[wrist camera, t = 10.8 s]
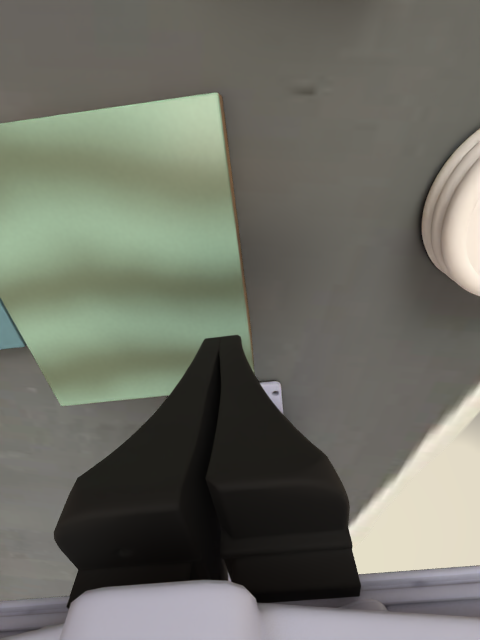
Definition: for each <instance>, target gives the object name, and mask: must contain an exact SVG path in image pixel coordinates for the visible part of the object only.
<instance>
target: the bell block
mask: <svg viewBox="0 0 480 640" xmlns="http://www.w3.org/2000/svg"><path fill="white" fill-rule="evenodd" d="M26 345H27V344H26V343H25V341H24V339H23V337H22V335H21V334H20V332H19V330H18V328H17V326H16V325H15V323H14V321H13V319H12V318H11V316H10V314H9V312H8V310H7V309H6V307H5V305H4V303H3V301H2V300H1V298H0V349H9V348H18V347H25V346H26Z"/></svg>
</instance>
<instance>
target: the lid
mask: <svg viewBox="0 0 480 640" xmlns="http://www.w3.org/2000/svg"><path fill="white" fill-rule="evenodd" d="M0 298H1V300H2V301H3V303H4V305H5V307H6V309H7V310H8V312H9V314H10V316H11V318H12V319H13V321H14V323H15V325H16V326H17V328H18V330H19V332H20V334H21V335H22V337H23V339H24V341H25V343H26V344H27V346H28V348H29V350H30V351H31V353H32V355H33V357H34V359H35V360H36V362H37V364H38V366H39V368H40V369H41V371H42V373H43V375H44V376H45V378H46V380H47V382H48V384H49V385H50V387H51V389H52V391H53V393H54V394H55V396H56V398H57V400H58V401H59V403H60V405H61V406H68V405H78V404H88V403H98V402H108V401H118V400H128V399H138V398H148V397H157V396H167V395H170V394H171V392H172V391H173V390H174V388H175V387H176V385H177V384H178V383H179V381H180V380H181V378H182V377H183V375H184V374H185V372H186V370H187V369H188V367H189V366H190V364H191V362H192V361H193V359H194V357H195V355H196V354H197V352H198V350H199V348H200V346H201V344H202V342H203V341H204V339H205V338H214V337H222V336H231V335H239V336H240V337H241V340H242V347H243V350H244V353H245V356H246V358H247V360H248V363H249V365H250V367H251V369H252V371H253V372H254V364H253V356H252V348H251V341H250V333H249V325H248V317H247V309H246V301H245V294H244V286H243V278H242V270H241V262H240V255H239V247H238V239H237V231H236V223H235V216H234V208H233V200H232V192H231V184H230V176H229V169H228V161H227V153H226V145H225V137H224V130H223V122H222V114H221V106H220V98H219V94H218V93H217V92H214V93H208V94H201V95H194V96H187V97H180V98H173V99H166V100H159V101H152V102H145V103H138V104H131V105H125V106H118V107H111V108H104V109H97V110H90V111H83V112H76V113H69V114H62V115H55V116H48V117H41V118H35V119H28V120H21V121H14V122H7V123H0ZM254 374H255V372H254Z"/></svg>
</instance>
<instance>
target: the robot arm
mask: <svg viewBox="0 0 480 640" xmlns="http://www.w3.org/2000/svg"><path fill="white" fill-rule="evenodd" d="M274 391H277V392H274ZM349 508H350V506H349V500H348V496H347V494H346V491H345V489H344V486H343V484H342V482H341V480H340V478H339V476H338V474H337V473H336V471H335V469H334V467H333V466H332V464H331V462H330V461H329V459H328V457H327V456H326V455H325V454H324V453H323V452H322V451H321V450H319V449H318V448H317V447H316V446H315V445H313V444H312V443H311V442H310V441H309V440H308V439H307V438H306V437H304V436H303V435H302V434H301V433H300V432H299V431H298V430H297V429H296V428H295V427H294V426H293V425H292V424H291V422H290V421H289V420H288V419H287V418H286V417H285V416H284V415H283V406H282V393H281V385H280V383H279V382H277V381H271V382H261V383H259V381H258V379H257V378H256V376H255V374H254V372H253V371H252V369H251V367H250V365H249V363H248V360H247V358H246V356H245V353H244V350H243V347H242V340H241V337H240V336H239V335H231V336H222V337H214V338H205V339H204V341H203V342H202V344H201V346H200V348H199V350H198V352H197V354H196V355H195V357H194V359H193V361H192V362H191V364H190V366H189V367H188V369H187V370H186V372H185V374H184V375H183V377H182V378H181V380H180V381H179V383H178V384H177V385H176V387H175V388H174V390H173V391H172V392H171V394H170V395H169V396H168V398H167V399H166V400H165V401H164V403H163V404H162V405H161V406H160V407H159V409H158V410H157V411H156V412H155V413H154V414H153V415H152V416H151V417H150V419H149V420H148V421H147V422H146V423H145V424H144V425H143V426H142V427H141V428H140V429H139V430H138V431H137V432H136V433H135V434H133V435H132V436H131V437H130V438H129V439H128V440H127V441H126V442H124V443H123V444H122V445H121V446H120V447H119V448H117V449H116V450H115V451H114V452H112V453H111V454H110V455H109V456H107V457H106V458H105V459H103V460H102V461H101V462H99V463H98V464H97V465H95V466H94V467H93V468H91V469H90V470H88V471H87V472H86V473H84V474H83V475H81V476H80V477H78V478H77V480H76V482H75V484H74V486H73V488H72V490H71V492H70V494H69V497H68V499H67V501H66V504H65V506H64V508H63V511H62V513H61V516H60V518H59V521H58V523H57V526H56V528H55V531H54V539H55V541H56V543H57V545H58V546H59V548H60V549H61V551H62V552H63V553H64V554H65V555H66V556H67V557H68V558H69V560H70V561H71V562H72V563H73V564H74V565H75V566H76V567H77V569H78V573H77V576H76V579H75V582H74V585H73V588H72V591H71V594H70V596H61V597H48V598H34V599H21V600H8V601H0V640H480V565H479V566H465V567H451V568H438V569H424V570H411V571H399V572H385V573H371V574H358V572H357V568H356V564H355V560H354V556H353V553H352V541H351V537H350V534H349V530H348V520H349Z"/></svg>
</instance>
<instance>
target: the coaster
mask: <svg viewBox="0 0 480 640" xmlns="http://www.w3.org/2000/svg"><path fill="white" fill-rule="evenodd" d="M422 237H423V243H424V246H425V248H426V251H427V254H428V256H429V257H430V259H431V261H432V262H433V263H434V265H435V266H436V267H437V268H438V269H439V270H441V271H442V272H443V273H445V274H446V275H447V276H448V277H449V278H451V279H452V280H453V281H455V282H456V283H457V284H458V285H459V286H461V287H462V288H463V289H465V290H466V291H468V292H470V293H472V294H475V295H477V296H480V129H478V130H477V131H476V132H475V133H474V134H472V135H471V136H470V137H469V138H468V139H466V140H465V141H464V142H463V143H462V144H461V145H460V146H459V147H458V148H457V149H456V150H455V151H454V153H453V154H452V155H451V156H450V158H449V159H448V160H447V161H446V163H445V164H444V166H443V167H442V169H441V170H440V172H439V173H438V175H437V177H436V179H435V180H434V182H433V184H432V186H431V188H430V191H429V193H428V196H427V199H426V202H425V206H424V210H423V216H422Z"/></svg>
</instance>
